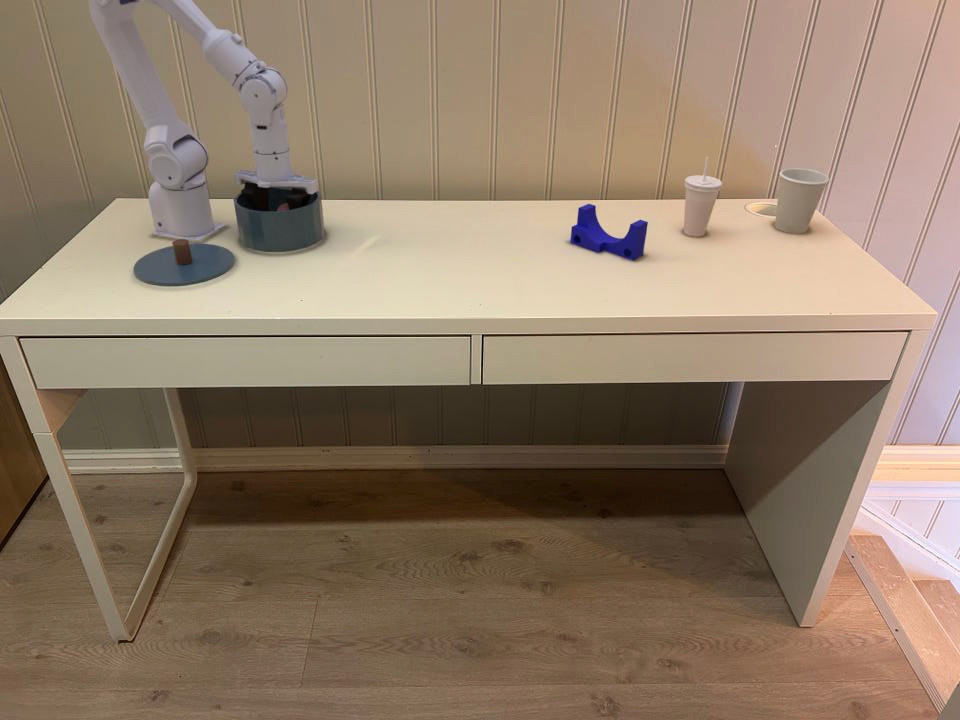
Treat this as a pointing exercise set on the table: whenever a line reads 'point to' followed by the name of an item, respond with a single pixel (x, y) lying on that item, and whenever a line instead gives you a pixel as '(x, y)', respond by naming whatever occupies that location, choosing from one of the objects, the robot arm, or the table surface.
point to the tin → (279, 223)
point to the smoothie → (699, 201)
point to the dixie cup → (798, 198)
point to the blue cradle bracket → (607, 235)
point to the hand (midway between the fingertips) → (282, 228)
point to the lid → (183, 264)
